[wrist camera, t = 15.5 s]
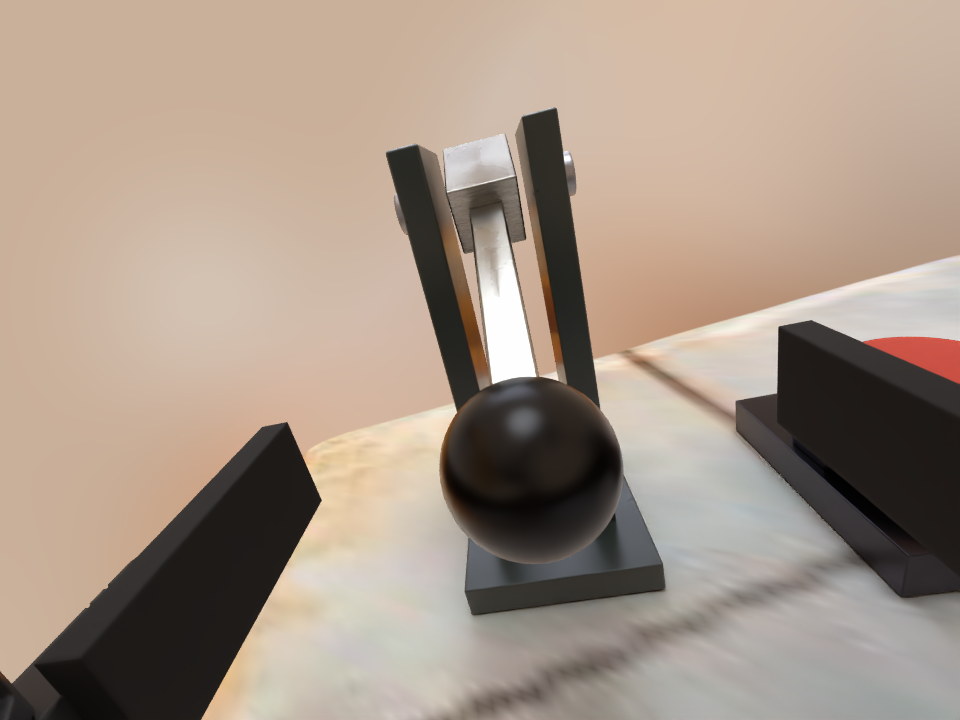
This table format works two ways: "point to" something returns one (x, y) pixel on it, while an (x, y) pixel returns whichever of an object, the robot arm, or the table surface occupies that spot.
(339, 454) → the table surface
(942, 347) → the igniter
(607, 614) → the table surface
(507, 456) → the lever
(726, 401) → the table surface
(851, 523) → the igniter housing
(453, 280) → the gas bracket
